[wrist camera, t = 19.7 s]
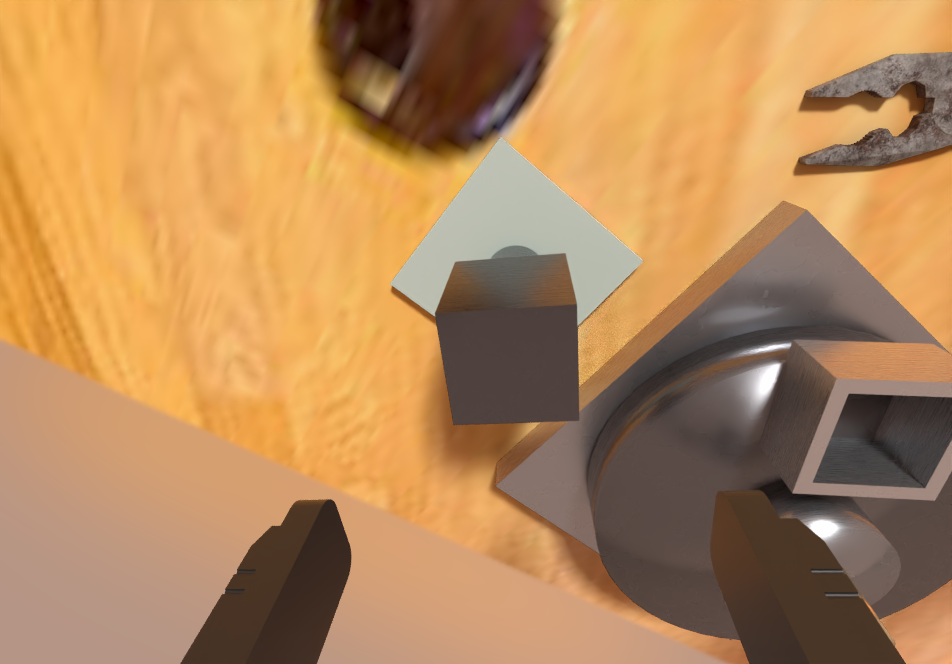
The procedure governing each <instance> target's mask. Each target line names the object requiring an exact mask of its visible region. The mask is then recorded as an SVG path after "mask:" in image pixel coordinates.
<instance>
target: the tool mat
mask: <svg viewBox="0 0 952 664" xmlns="http://www.w3.org/2000/svg"><path fill="white" fill-rule="evenodd" d="M514 245H518V246H524V247H527V248H529V249H531V250H533V251H534V252H536V253H537V254H538V255H547V254H560V253H566V257H567V262H568V266H569V271H570V275H571V279H572V284H573V288H574V293H575V297H576V301H577V323H578V325H579V324H580V323H581V322H582V321H583V320H585V319H586V318H587V317H588V316H589V315H590V314H591V313H592V312H593V311H594V310H595V309H596V308H597V307H598V306H599V305H600V304H601V303H602V302H603V301H604V300H605V299H606V298H607V297H608V296H609V295H610V294H611V293H612V292H613V291H614V290H615V289H616V288H617V287H618V286H619V285H620V284H621V283H622V282H623V281H624V280H625V279H626V278H627V277H628V276H629V275H630V274H631V273H632V272H633V271H634V270H635V269H636V268H637V267H638V266H639V265H640V264H641V263H642V262H643V260H642V259H641V258H640V257H639V256H638V255H637V254H636V253H635V252H633V251H632V250H631V249H630V248H629V247H628V246H627V245H625V244H624V243H623V242H622V241H621V240H620V239H618V238H617V237H616V236H615V235H614V234H613V233H612V232H610V231H609V230H608V229H607V228H606V227H605V226H603V225H602V224H601V223H600V222H599V221H598V220H596V219H595V218H594V217H593V216H592V215H591V214H590V213H588V212H587V211H586V210H585V209H584V208H583V207H581V206H580V205H579V204H578V203H577V202H576V201H574V200H573V199H572V198H571V197H570V196H569V195H568V194H566V193H565V192H564V191H563V190H562V189H561V188H559V187H558V186H557V185H556V184H555V183H554V182H553V181H551V180H550V179H549V178H548V177H547V176H546V175H544V174H543V173H542V172H541V171H540V170H539V169H537V168H536V167H535V166H534V165H533V164H532V163H531V162H529V161H528V160H527V159H526V158H525V157H524V156H522V155H521V154H520V153H519V152H518V151H517V150H516V149H514V148H513V147H512V146H511V145H510V144H509V143H507V142H506V141H505V140H504V139H503V138H502V137H500V138H499V140H498V141H497V142H496V144H495V145H494V146H493V147H492V149H491V150H490V151H489V153H488V154H487V155H486V157H485V158H484V159H483V161H482V162H481V163H480V165H479V166H478V167H477V169H476V170H475V171H474V173H473V174H472V175H471V177H470V178H469V179H468V181H467V182H466V183H465V185H464V186H463V187H462V189H461V190H460V191H459V193H458V194H457V195H456V197H455V198H454V199H453V201H452V202H451V203H450V205H449V206H448V207H447V209H446V210H445V211H444V213H443V214H442V215H441V217H440V218H439V219H438V221H437V222H436V223H435V225H434V226H433V227H432V228H431V230H430V231H429V232H428V234H427V235H426V236H425V238H424V239H423V240H422V242H421V243H420V244H419V246H418V247H417V248H416V250H415V251H414V252H413V254H412V255H411V256H410V258H409V259H408V260H407V262H406V263H405V264H404V266H403V267H402V268H401V270H400V271H399V272H398V274H397V275H396V276H395V278H394V279H393V280H392V282H391V283H390V284H391V285H392V286H393V287H395V288H396V289H397V290H399V291H400V292H402V293H403V294H404V295H406V296H407V297H408V298H410V299H411V300H413V301H414V302H415V303H417V304H418V305H419V306H421V307H422V308H424V309H425V310H426V311H428V312H429V313H430V314H432V315H433V316H434V317H435V312H436V309H437V307H438V304H439V302H440V299H441V296H442V294H443V291H444V289H445V286H446V284H447V281H448V279H449V276H450V274H451V271H452V268H453V266H454V263H455V262H458V261H471V260H483V259H491V257H492V256H493V255H494V254H495V253H496V252H497V251H499V250H500V249H502V248H505V247H508V246H514Z"/></svg>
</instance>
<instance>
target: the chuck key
mask: <svg viewBox="0 0 952 664" xmlns="http://www.w3.org/2000/svg"><path fill="white" fill-rule="evenodd" d="M435 317H436V323H437V329H438V335H439V341H440V347H441V353H442V359H443V365H444V371H445V377H446V383H447V389H448V395H449V401H450V407H451V413H452V419H453V425H468V424H499V423H530V422H561V421H579V374H578V323H577V301H576V297H575V293H574V288H573V284H572V279H571V275H570V271H569V266H568V262H567V257H566V253H560V254H547V255H538V254H537V253H536V252H534V251H533V250H531V249H529V248H527V247H524V246H518V245H514V246H508V247H505V248H502V249H500V250H499V251H497V252H496V253H495V254H494V255H493V256H492V257H491V259H483V260H471V261H458V262H455V263H454V266H453V268H452V271H451V274H450V276H449V279H448V281H447V284H446V286H445V289H444V291H443V294H442V296H441V299H440V302H439V304H438V307H437V309H436V312H435Z"/></svg>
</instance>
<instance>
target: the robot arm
mask: <svg viewBox="0 0 952 664" xmlns="http://www.w3.org/2000/svg"><path fill="white" fill-rule="evenodd" d="M710 553H711V560H712V565H713V570H714V573H715V576H716V579H717V582H718V584H719V587H720V589H721V592H722V594H723V597H724V600H725V602H726V605H727V607H728V610H729V612H730V615H731V617H732V620H733V623H734V625H735V628H736V630H737V633H738V635H739V638H740V640H741V643H742V646H743V648H744V651H745V653H746V656H747V658H748V661H749V663H750V664H906V663H905V662H904V660H903V659H902V657H901V656H900V654H899V653H898V651H897V649H896V648H895V646H894V645H893V643H892V642H891V640H890V639H889V637H888V636H887V634H886V633H885V631H884V630H883V628H882V627H881V625H880V624H879V622H878V621H877V619H876V618H875V616H874V615H873V613H872V612H871V610H870V609H869V607H868V606H867V604H866V603H865V601H864V600H863V598H860V597H859V594H858V591H857V589H856V588H855V586H854V585H853V583H852V582H851V580H850V579H849V577H848V576H847V574H844V573H843V568H842V567H841V565H840V564H839V562H838V561H837V559H836V558H835V556H834V555H833V553H832V552H831V550H830V549H829V547H828V546H827V544H826V543H825V541H824V540H822V539H821V538H820V537H819V536H818V535H817V534H815V533H814V532H813V531H812V530H811V529H809V528H808V527H807V526H806V525H805V524H803V523H802V522H801V521H800V520H799V519H797V518H779V516H778V514H777V513H776V511H775V509H774V508H773V506H772V504H771V503H770V501H769V499H768V498H767V496H766V495H765V494H764V492H762V491H761V490H736V491H719V492H718V493H717V495H716V501H715V509H714V517H713V525H712V533H711V541H710ZM350 567H351V549H350V544H349V542H348V539H347V536H346V533H345V530H344V527H343V524H342V521H341V518H340V515H339V512H338V510H337V507H336V504H335V502H334V501H333V500H298V501H296V502H295V503H294V504H293V505H292V507H291V508H290V510H289V512H288V514H287V516H286V517H285V519H284V521H283V523H282V524H281V526H272V527H271V528H269V529H268V530H267V531H266V532H265V533H264V534H263V535H262V536H261V537H260V538H259V539H258V540H257V541H256V542H255V543H254V544H253V545H252V546H251V547H250V549H249V551H248V553H247V554H246V556H245V557H244V559H243V561H242V562H241V564H240V566H239V567H238V569H237V574H235V575H234V576H233V577H232V579H231V580H230V582H229V584H228V586H227V587H226V589H225V590H226V591H225V594H222V595H221V597H220V599H219V600H218V602H217V604H216V606H215V607H214V609H213V610H212V612H211V614H210V616H209V617H208V619H207V620H206V622H205V624H204V626H203V627H202V629H201V630H200V632H199V634H198V635H197V637H196V639H195V640H194V642H193V644H192V645H191V647H190V649H189V650H188V652H187V654H186V655H185V657H184V659H183V660H182V662H181V664H317V662H318V659H319V656H320V653H321V651H322V648H323V645H324V642H325V640H326V637H327V634H328V631H329V628H330V626H331V623H332V620H333V618H334V615H335V612H336V609H337V607H338V604H339V601H340V598H341V596H342V593H343V590H344V587H345V585H346V582H347V579H348V576H349V572H350Z"/></svg>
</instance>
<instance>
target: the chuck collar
mask: <svg viewBox="0 0 952 664" xmlns="http://www.w3.org/2000/svg"><path fill="white" fill-rule="evenodd" d="M736 490H761V491H762V492H764V494H765V495H766V496H767V498H768V499H769V501H770V503H771V504H772V506H773V508H774V509H775V511H776V513H777V514H778V516H779V518H797V519H799V520H800V521H801V522H802V523H803V524H805V525H806V526H807V527H808V528H809V529H811V530H812V531H813V532H814V533H815V534H817V535H818V536H819V537H820V538H821V539H822V540H824V541H825V543H826V544H827V546H828V547H829V549H830V550H831V552H832V553H833V555H834V556H835V558H836V559H837V561H838V562H839V564H840V565H841V567H842V568H843V573H844V574H847V576H848V577H849V579H850V580H851V582H852V583H853V585H854V586H855V588H856V589H857V591H858V594H859V597H860V598H863V600H864V601H865V603H866V604H867V606H868V607H869V609H870V610H871V612H872V613H873V615H874V616H875V618H876V619H877V621H878V622H879V624H880V625H881V627H882V628H883V630H884V631H885V633H886V634H887V636H888V637H889V639H890V640H891V642H892V643H893V645H894V646H895V641H894V640H893V638H892V637H891V635H890V634H889V632H888V631H887V630H886V628H885V627H884V625H883V624H882V622H881V621H880V619H882V618H884V617H886V616H888V615H891V614H893V613H895V612H897V611H900V610H902V609H904V608H906V607H908V606H910V605H912V604H914V603H915V602H917V601H919V600H921V599H923V598H925V597H926V596H928V595H929V594H931V593H932V592H934V591H935V590H937V589H938V588H940V587H941V586H943V585H944V584H946V583H947V582H948V581H950V580H951V579H952V355H951V354H949V353H948V352H946V351H944V350H943V349H941V348H939V347H938V346H936V345H934V344H920V343H893V342H891V341H889V340H886V339H883V338H880V337H877V336H875V335H872V334H869V333H865V332H860V331H855V330H851V329H846V328H839V327H828V326H816V325H813V326H785V327H778V328H770V329H763V330H757V331H753V332H749V333H745V334H741V335H737V336H733V337H729V338H727V339H724V340H721V341H718V342H715V343H712V344H710V345H707V346H704V347H702V348H700V349H698V350H696V351H694V352H692V353H690V354H687V355H685V356H683V357H681V358H679V359H678V360H676V361H675V362H673V363H671V364H670V365H668V366H666V367H665V368H663V369H661V370H660V371H658V372H657V373H656V374H654V375H653V376H652V377H651V378H649V379H648V380H647V381H645V382H644V383H643V384H642V385H640V386H639V387H638V388H637V389H636V390H635V391H634V392H633V393H632V394H631V395H630V396H629V397H628V398H627V399H626V400H625V401H624V402H623V403H622V404H621V405H620V407H619V408H618V409H617V410H616V412H615V413H614V414H613V415H612V417H611V418H610V419H609V421H608V423H607V424H606V426H605V428H604V429H603V431H602V433H601V435H600V436H599V438H598V441H597V443H596V446H595V448H594V451H593V454H592V457H591V462H590V466H589V471H588V495H589V503H590V508H591V514H592V520H593V525H594V531H595V536H596V542H597V547H598V550H599V553H600V556H601V559H602V562H603V564H604V566H605V568H606V570H607V572H608V573H609V575H610V577H611V578H612V580H613V581H614V582H615V583H616V585H617V586H618V587H619V589H620V590H621V591H622V592H623V593H624V594H625V595H626V596H628V597H629V598H630V599H631V600H632V601H633V602H634V603H636V604H637V605H638V606H640V607H641V608H643V609H644V610H645V611H647V612H648V613H650V614H652V615H654V616H656V617H658V618H660V619H661V620H663V621H666V622H668V623H670V624H673V625H675V626H678V627H680V628H683V629H687V630H690V631H693V632H697V633H700V634H705V635H710V636H715V637H720V638H727V639H736V640H740V638H739V635H738V633H737V630H736V628H735V625H734V623H733V620H732V617H731V615H730V612H729V610H728V607H727V605H726V602H725V600H724V597H723V594H722V592H721V589H720V587H719V584H718V582H717V579H716V576H715V573H714V570H713V565H712V560H711V553H710V541H711V533H712V525H713V517H714V509H715V501H716V495H717V493H718V492H719V491H736Z"/></svg>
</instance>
